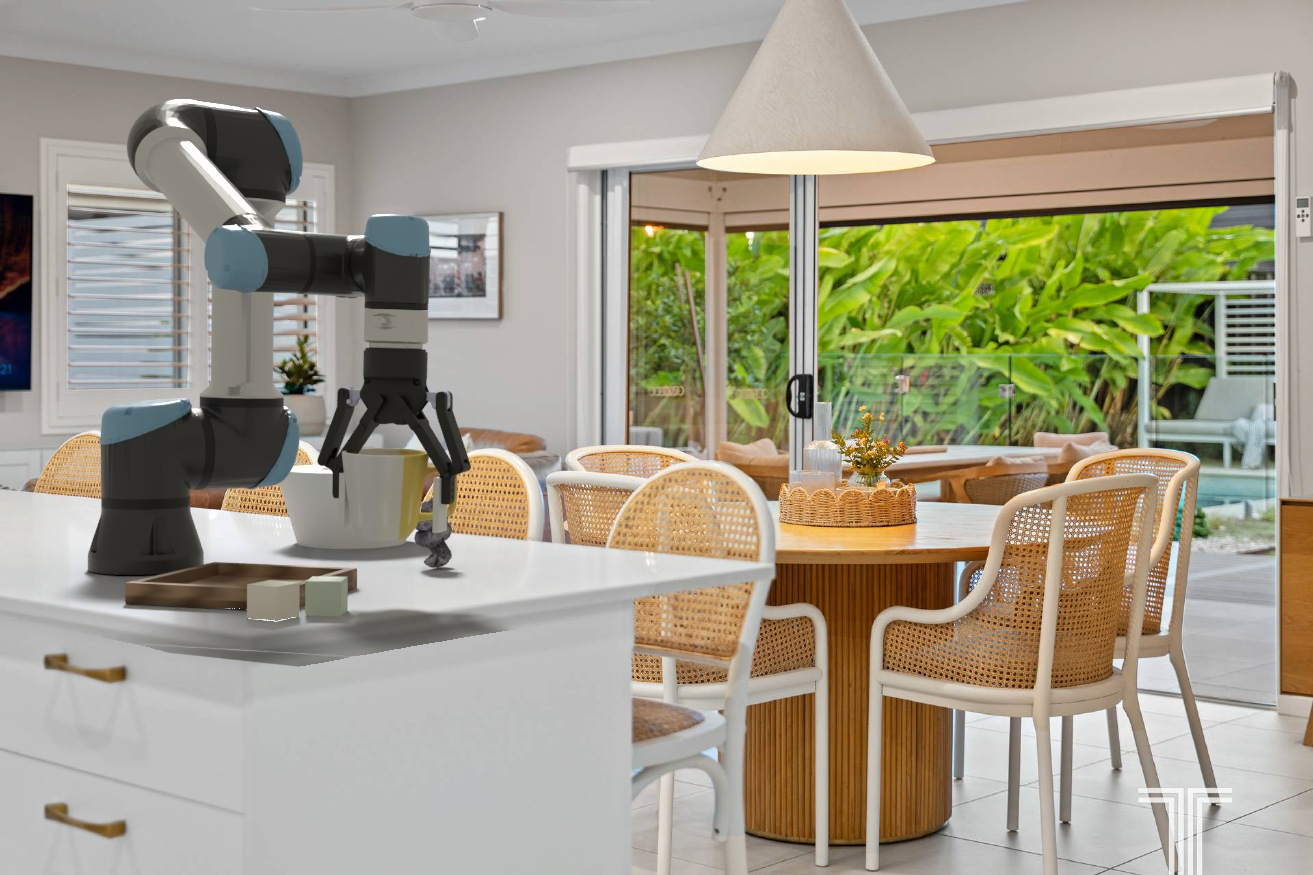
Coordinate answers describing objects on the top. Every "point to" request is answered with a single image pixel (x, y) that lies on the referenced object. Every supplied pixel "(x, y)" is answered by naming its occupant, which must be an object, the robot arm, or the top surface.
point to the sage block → (326, 596)
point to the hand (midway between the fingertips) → (392, 528)
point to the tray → (222, 584)
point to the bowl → (320, 511)
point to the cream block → (273, 600)
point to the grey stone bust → (433, 539)
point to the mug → (387, 491)
